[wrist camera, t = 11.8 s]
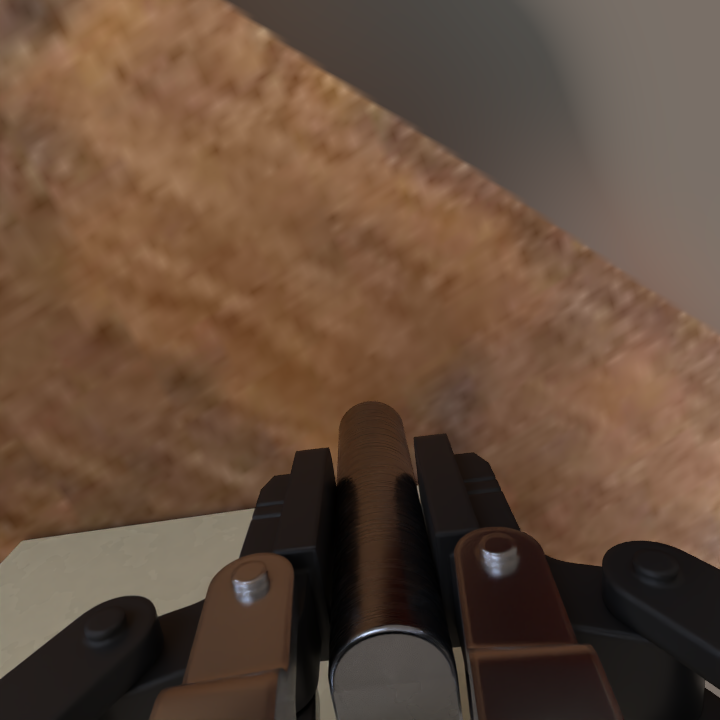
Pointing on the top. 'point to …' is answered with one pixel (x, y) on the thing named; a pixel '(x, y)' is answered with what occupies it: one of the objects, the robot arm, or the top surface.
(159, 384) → the top surface
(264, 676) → the robot arm
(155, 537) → the door
